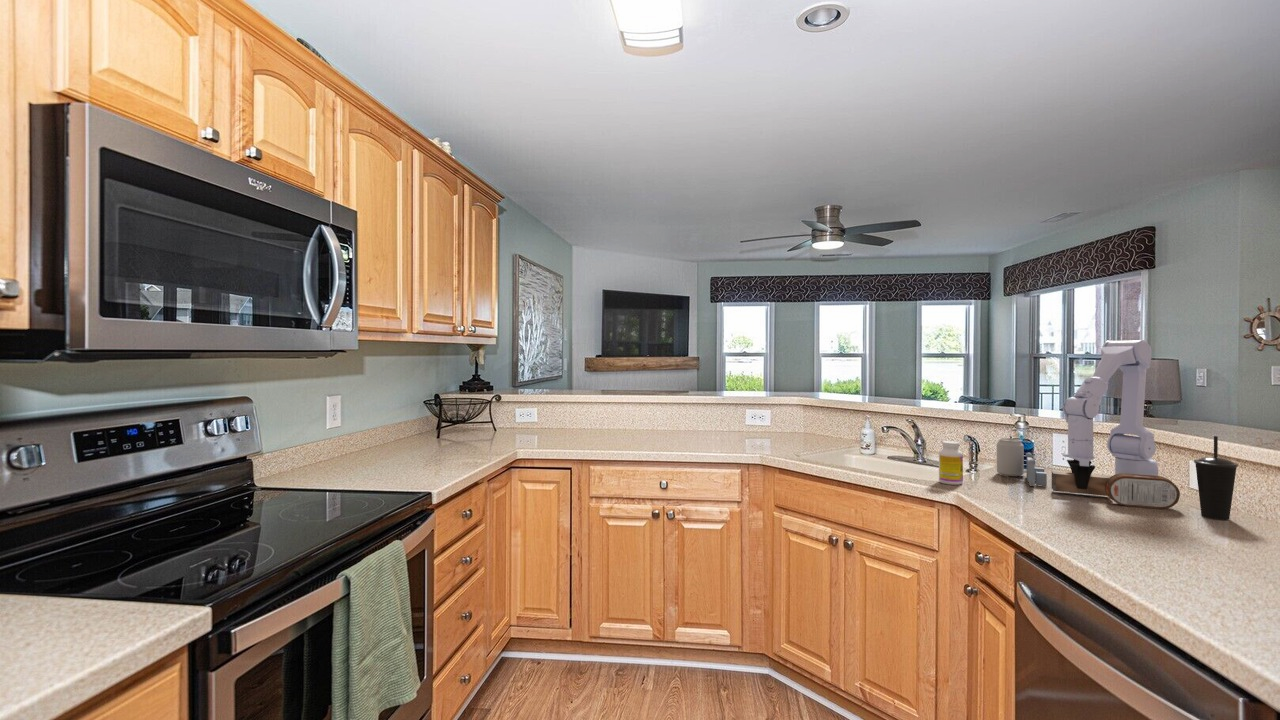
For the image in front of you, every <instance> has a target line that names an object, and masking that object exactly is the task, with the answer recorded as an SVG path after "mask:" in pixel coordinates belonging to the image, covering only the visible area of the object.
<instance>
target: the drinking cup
mask: <svg viewBox="0 0 1280 720" xmlns="http://www.w3.org/2000/svg"><path fill="white" fill-rule="evenodd" d="M1218 437H1219V436H1218V435H1214V436H1213V456H1205V457H1200V458H1197V459H1194V460H1193V463H1194V464H1195V471H1196V480H1197V489H1198V496H1199V497H1198V499H1199V507H1200V516H1201V517H1204V518H1206V519H1211V520H1218V521H1229V520H1230V516H1231V511H1232V510H1231V509H1232V503H1233V494H1234V488H1235V481H1236V474H1237V468H1239V463H1237V462H1234V461H1232V460H1230V459H1227V458H1223V457H1220V456H1219V455H1218V454H1219V452H1218V451H1219V450H1218V447H1219V446H1218V445H1219V443H1218V441H1219V438H1218Z"/></svg>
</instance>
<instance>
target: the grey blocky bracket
mask: <svg viewBox="0 0 1280 720" xmlns="http://www.w3.org/2000/svg"><path fill="white" fill-rule="evenodd" d="M1025 457H1026V480H1027V483H1028V482H1029V483H1028V486H1029V485H1030V486H1034V487H1033V488H1035V487H1036V485H1042V486H1041V487H1044V486H1048V485H1047V484H1048V482H1047V479H1048V476H1047V474H1048V473H1047V472H1045V468H1044V467H1037V466H1036V465H1035V464H1036V463H1037V461H1036V460H1035V459H1033V458H1032V457H1033V454H1032V453H1031V452H1026V453H1025ZM1035 480H1036V481H1035ZM1035 484H1036V485H1035ZM1030 486H1029V487H1030Z"/></svg>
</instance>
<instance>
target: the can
mask: <svg viewBox="0 0 1280 720" xmlns="http://www.w3.org/2000/svg"><path fill="white" fill-rule="evenodd" d="M998 440H999V441H997V442H996V472H997V473H998V474H999V475H1000V474H1001V475H1000V476H1002V475H1005V476H1004V477H1008V476H1020V477H1022V476H1023V475H1024V474H1025V472H1024V471H1025V469H1024V468H1025V466H1024V465H1025V462H1024V461H1025V459H1024V457H1025V456H1024V455H1025V453H1024V452H1025V449H1024V447H1025V445H1024V444H1023V443H1022V439H1018V438H1012V437H1011V438H1009V437H1002V438H998Z"/></svg>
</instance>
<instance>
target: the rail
mask: <svg viewBox="0 0 1280 720" xmlns="http://www.w3.org/2000/svg"><path fill="white" fill-rule="evenodd" d="M1110 477H1111V476H1109V475H1107V474H1095V473H1094V474H1093V473H1092V474H1091V476H1090V479H1089V483H1088V487H1087V489H1078V488H1077V486H1076V482H1075V476H1074V473H1072V471H1070V472H1069V471H1068V472H1067V471H1057V470H1051V489H1052V491H1053V492H1061V493H1069V494H1071V493H1072V494H1083V495H1093V496H1102V497H1103V496H1105V497H1108V496H1107V494H1106V492H1105V483H1106V481H1107V480H1108V479H1109V478H1110Z"/></svg>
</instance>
